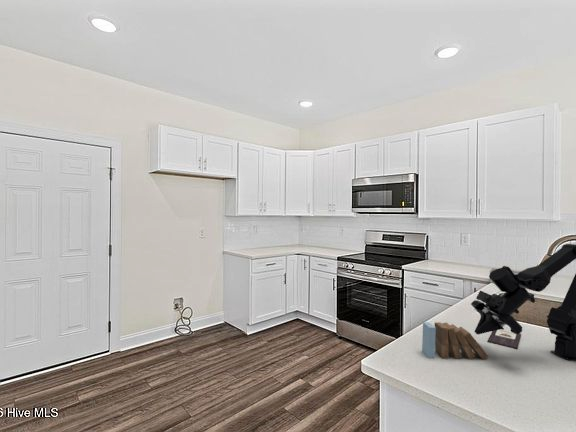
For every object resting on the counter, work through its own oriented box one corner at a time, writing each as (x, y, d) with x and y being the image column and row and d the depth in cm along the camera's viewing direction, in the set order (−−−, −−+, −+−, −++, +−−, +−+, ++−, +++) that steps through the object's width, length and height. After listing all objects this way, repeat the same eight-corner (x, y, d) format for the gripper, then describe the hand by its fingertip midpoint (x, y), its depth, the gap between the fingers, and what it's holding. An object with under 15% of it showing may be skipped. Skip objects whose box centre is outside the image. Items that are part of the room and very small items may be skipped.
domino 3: (453, 350, 106) (446, 322, 106) (461, 357, 101) (453, 327, 101) (448, 351, 106) (440, 323, 106) (455, 358, 101) (447, 329, 101)
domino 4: (466, 349, 106) (452, 324, 106) (475, 356, 101) (460, 329, 101) (461, 352, 106) (447, 326, 106) (469, 359, 101) (455, 332, 101)
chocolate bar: (487, 340, 116) (494, 327, 129) (487, 343, 116) (494, 330, 129) (517, 348, 110) (521, 333, 124) (517, 350, 110) (521, 336, 124)
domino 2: (441, 351, 106) (440, 322, 106) (448, 358, 101) (447, 327, 101) (435, 351, 106) (434, 322, 106) (442, 358, 101) (441, 328, 101)
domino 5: (479, 349, 106) (460, 326, 106) (488, 355, 101) (468, 332, 101) (474, 352, 106) (456, 330, 106) (483, 359, 101) (464, 336, 101)
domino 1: (427, 351, 106) (428, 322, 106) (434, 358, 101) (435, 327, 101) (422, 351, 106) (423, 322, 106) (428, 358, 101) (429, 327, 101)
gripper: (477, 277, 113) (445, 307, 113) (513, 290, 94) (475, 325, 94) (498, 300, 113) (466, 329, 113) (539, 317, 94) (501, 352, 94)
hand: (475, 333), depth 104 cm, fingers closed
